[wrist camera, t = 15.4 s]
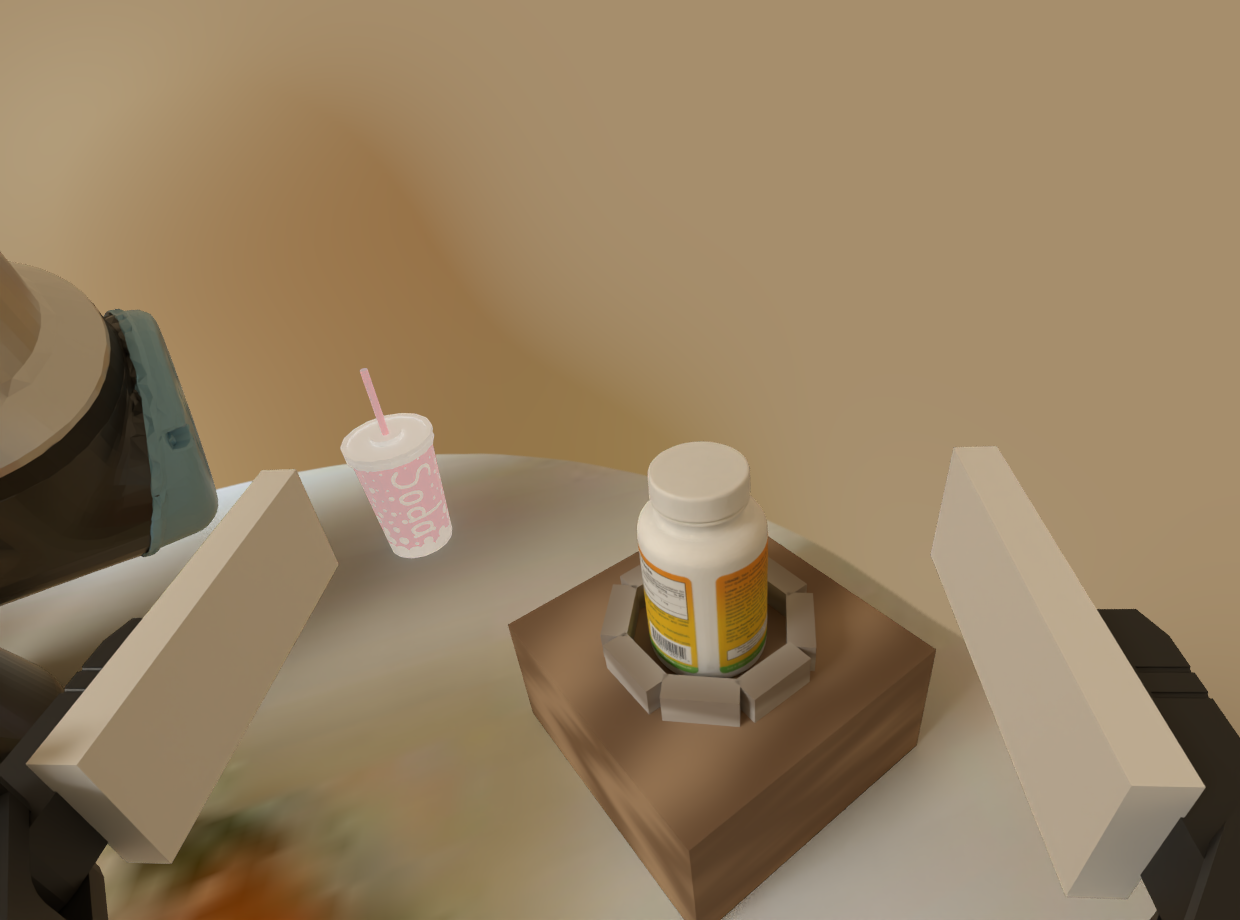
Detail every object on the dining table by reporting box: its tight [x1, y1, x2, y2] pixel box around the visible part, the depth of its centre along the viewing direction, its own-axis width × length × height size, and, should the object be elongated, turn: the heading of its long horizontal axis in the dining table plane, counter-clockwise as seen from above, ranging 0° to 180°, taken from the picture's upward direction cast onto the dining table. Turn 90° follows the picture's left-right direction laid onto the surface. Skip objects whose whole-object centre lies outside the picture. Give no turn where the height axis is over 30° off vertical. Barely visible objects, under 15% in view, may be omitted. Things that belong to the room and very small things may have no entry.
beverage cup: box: [340, 368, 452, 558], centre depth 49 cm, size 6×6×14 cm
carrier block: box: [508, 537, 936, 920], centre depth 35 cm, size 14×14×8 cm
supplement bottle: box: [637, 441, 768, 678], centre depth 30 cm, size 5×5×10 cm
